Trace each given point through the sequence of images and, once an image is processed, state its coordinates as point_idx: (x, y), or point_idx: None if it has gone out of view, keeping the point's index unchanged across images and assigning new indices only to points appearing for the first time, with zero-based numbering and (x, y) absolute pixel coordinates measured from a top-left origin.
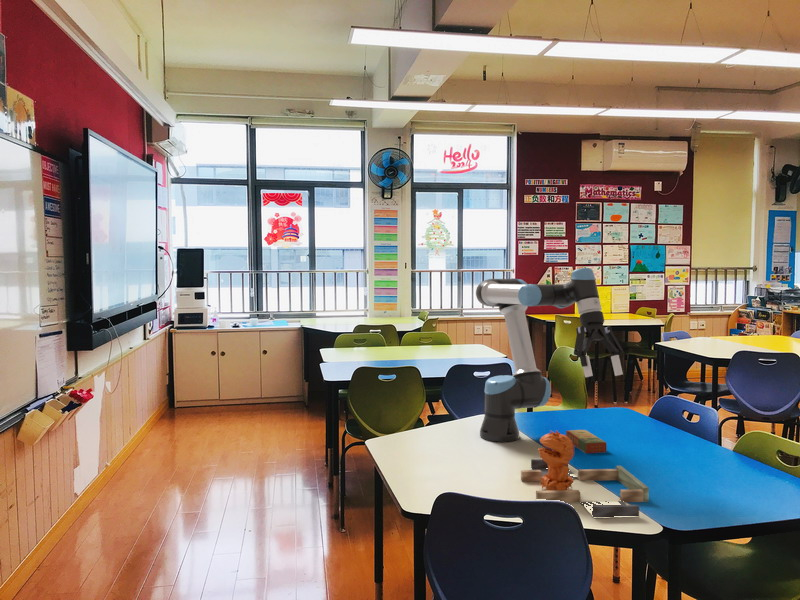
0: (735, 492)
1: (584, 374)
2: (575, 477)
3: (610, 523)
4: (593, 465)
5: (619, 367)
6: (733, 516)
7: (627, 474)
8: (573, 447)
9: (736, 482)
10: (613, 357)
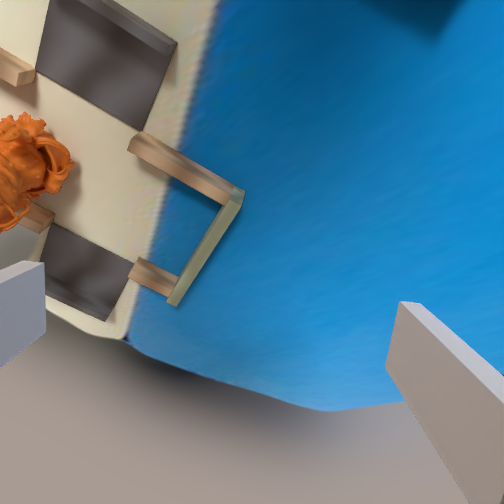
0: (368, 349)
1: (5, 268)
2: (136, 124)
3: None
4: (272, 78)
5: (411, 402)
6: (254, 374)
7: (200, 248)
8: (11, 223)
9: None
10: (496, 450)
